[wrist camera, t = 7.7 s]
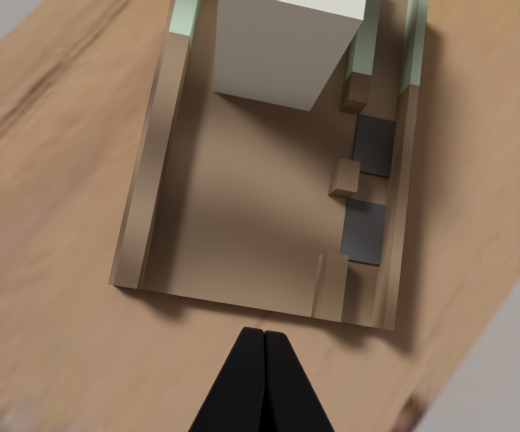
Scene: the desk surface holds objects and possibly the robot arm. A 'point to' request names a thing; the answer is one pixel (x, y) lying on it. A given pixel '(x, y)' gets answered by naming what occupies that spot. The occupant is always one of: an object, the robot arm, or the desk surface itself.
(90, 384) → the desk surface
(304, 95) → the block
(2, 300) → the desk surface
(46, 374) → the desk surface
